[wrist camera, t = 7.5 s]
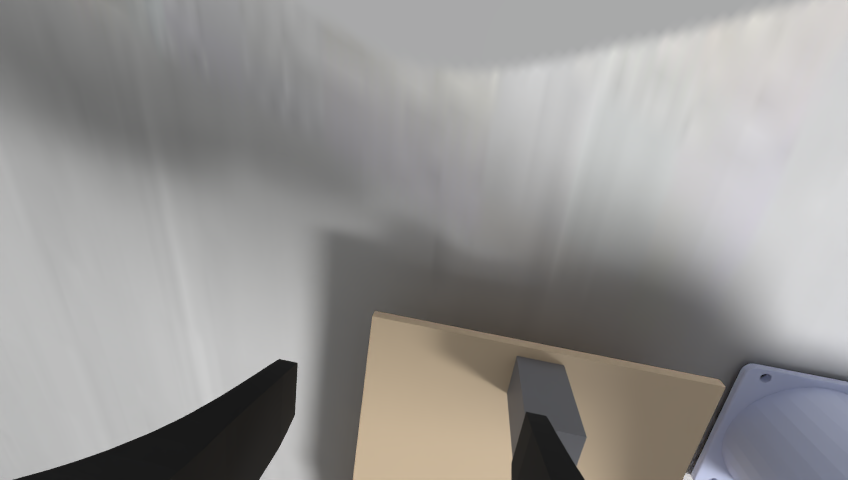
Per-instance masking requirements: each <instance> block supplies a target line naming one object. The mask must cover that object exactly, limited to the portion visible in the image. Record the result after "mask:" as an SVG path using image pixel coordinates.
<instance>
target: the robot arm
mask: <svg viewBox="0 0 848 480" xmlns="http://www.w3.org/2000/svg"><path fill="white" fill-rule="evenodd" d="M297 364H298V363H295V362H291V361H286V360H281V359H279V360H277V361H275V362H274V363H272V364H271V365H269V366H267V367H266V368H264V369H263V370H261V371H260V372H258V373H257V374H255V375H254V376H252V377H251V378H249V379H247V380H246V381H244V382H243V383H241V384H240V385H238V386H236V387H235V388H233V389H232V390H230V391H228V392H227V393H225V394H224V395H222V396H220V397H219V398H217V399H215V400H213V401H212V402H210V403H208V404H206V405H204V406H203V407H201V408H199V409H197V410H196V411H194V412H192V413H190V414H188V415H186V416H185V417H183V418H181V419H179V420H177V421H175V422H173V423H170V424H168V425H166V426H164V427H162V428H160V429H158V430H156V431H153V432H151V433H149V434H147V435H144V436H142V437H139V438H137V439H134V440H132V441H129V442H127V443H125V444H122V445H120V446H117V447H115V448H112V449H110V450H107V451H104V452H102V453H99V454H96V455H93V456H90V457H87V458H85V459H82V460H79V461H75V462H72V463H69V464H66V465H63V466H60V467H57V468H53V469H50V470H47V471H43V472H40V473H36V474H32V475H29V476H25V477H21V478H18V479H14V480H259V479H260V477H261V476H262V474H263V473H264V471H265V469H266V468H267V466H268V465H269V463H270V461H271V460H272V458H273V456H274V455H275V453H276V452H277V450H278V448H279V447H280V445H281V443H282V441H283V439H284V437H285V435H286V433H287V431H288V428H289V426H290V424H291V422H292V420H293V418H294V415H295V402H296V383H297ZM763 374H766V375H765V376H764V377H762V378H760V377H761V375H763ZM691 476H692V479H693V480H848V382H846V381H841V380H836V379H831V378H826V377H821V376H816V375H811V374H805V373H800V372H795V371H790V370H785V369H780V368H775V367H770V366H764V365H759V364H747V365H745V366H744V367H743V368H742V369H741V370H740V372H739V375H738V377H737V379H736V381H735V383H734V385H733V387H732V389H731V391H730V393H729V395H728V398H727V400H726V402H725V404H724V406H723V408H722V410H721V412H720V414H719V416H718V419H717V421H716V423H715V425H714V427H713V429H712V431H711V433H710V435H709V437H708V439H707V442H706V444H705V446H704V448H703V450H702V452H701V454H700V456H699V458H698V460H697V462H696V465H695V467H694V469H693V471H692V473H691ZM712 478H713V479H712ZM511 480H585V479H584V478H583V476H582V474H581V473H580V471H579V470H578V468H577V467H576V465H575V463H574V462H573V460H572V459H571V457H570V455H569V454H568V452H567V450H566V448H565V447H564V445H563V443H562V442H561V440H560V438H559V437H558V435H557V433H556V431H555V430H554V428H553V426H552V424H551V423H550V421H549V419H548V418H547V416H544V415H540V414H535V413H530V412H526V413H525V417H524V420H523V424H522V428H521V431H520V435H519V438H518V442H517V445H516V449H515V452H514V456H513V459H512V463H511Z"/></svg>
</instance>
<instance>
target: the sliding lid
mask: <svg viewBox="0 0 848 480" xmlns="http://www.w3.org/2000/svg"><path fill="white" fill-rule="evenodd" d="M725 388H726V387H725V385H724V384H723V383H722V382H721V381H720V380H719V379H715V378H710V377H705V376H700V375H695V374H690V373H685V372H680V371H675V370H670V369H665V368H660V367H655V366H650V365H645V364H640V363H635V362H630V361H625V360H620V359H615V358H609V357H604V356H599V355H594V354H589V353H584V352H579V351H574V350H569V349H564V348H559V347H554V346H549V345H544V344H539V343H534V342H529V341H524V340H519V339H514V338H509V337H504V336H499V335H494V334H489V333H484V332H479V331H474V330H469V329H464V328H459V327H454V326H449V325H444V324H439V323H434V322H429V321H424V320H419V319H414V318H409V317H404V316H399V315H394V314H389V313H384V312H379V311H375V312H374V314H373V316H372V322H371V331H370V339H369V348H368V356H367V364H366V373H365V381H364V389H363V398H362V406H361V414H360V423H359V431H358V440H357V448H356V456H355V465H354V473H353V480H511V463H512V459H513V456H514V452H515V449H516V445H517V442H518V438H519V435H520V431H521V428H522V424H523V420H524V417H525V413H526V412H530V413H535V414H540V415H544V416H547V418H548V419H549V421H550V423H551V424H552V426H553V428H554V430H555V431H556V433H557V435H558V437H559V438H560V440H561V442H562V443H563V445H564V447H565V448H566V450H567V452H568V454H569V455H570V457H571V459H572V460H573V462H574V463H575V465H576V467H577V468H578V470H579V471H580V473H581V474H582V476H583V478H584V479H585V480H682V479H683V477H684V475H685V473H686V471H687V469H688V467H689V464H690V462H691V460H692V458H693V456H694V454H695V452H696V450H697V448H698V445H699V443H700V441H701V439H702V437H703V435H704V433H705V431H706V428H707V426H708V424H709V422H710V420H711V418H712V416H713V414H714V411H715V409H716V407H717V405H718V403H719V401H720V399H721V397H722V394H723V392H724V390H725Z"/></svg>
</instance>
